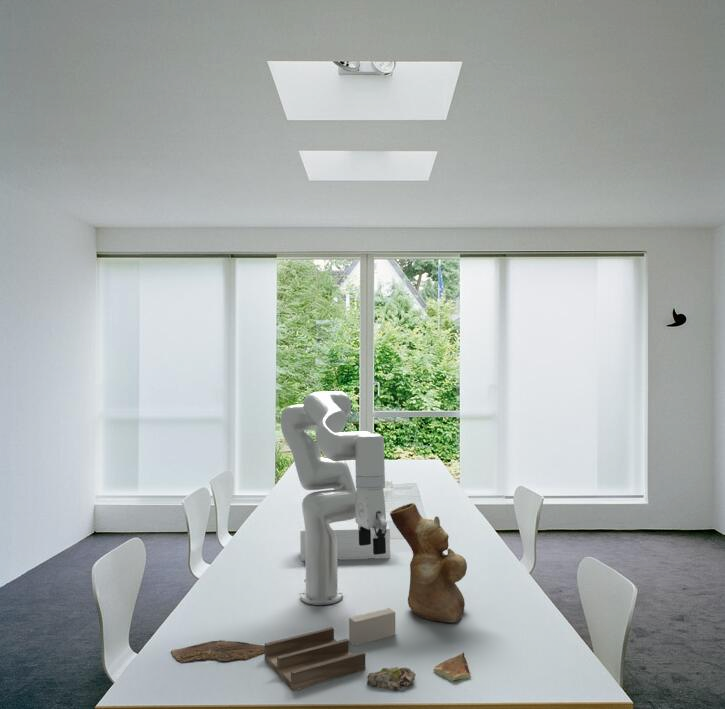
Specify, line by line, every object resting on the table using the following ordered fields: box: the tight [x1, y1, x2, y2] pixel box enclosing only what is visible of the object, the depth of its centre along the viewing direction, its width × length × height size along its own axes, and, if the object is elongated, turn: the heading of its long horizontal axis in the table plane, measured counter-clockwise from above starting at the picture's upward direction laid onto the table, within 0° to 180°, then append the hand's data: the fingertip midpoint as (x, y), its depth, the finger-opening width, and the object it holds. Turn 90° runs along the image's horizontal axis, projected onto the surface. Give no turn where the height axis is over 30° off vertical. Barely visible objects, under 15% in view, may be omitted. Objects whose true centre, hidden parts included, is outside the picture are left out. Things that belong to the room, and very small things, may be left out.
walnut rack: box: [264, 626, 366, 691], centre depth 146 cm, size 17×18×4 cm
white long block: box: [299, 521, 391, 562], centre depth 229 cm, size 32×11×11 cm, turn 94°
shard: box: [433, 652, 472, 682], centre depth 143 cm, size 11×8×2 cm
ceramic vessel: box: [389, 502, 468, 623], centre depth 177 cm, size 16×22×30 cm
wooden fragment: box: [170, 639, 265, 664], centre depth 153 cm, size 26×11×1 cm, turn 92°
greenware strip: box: [348, 607, 396, 647], centre depth 160 cm, size 3×12×6 cm, turn 120°
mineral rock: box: [366, 666, 416, 691], centre depth 138 cm, size 11×4×8 cm
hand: (372, 549), depth 161 cm, fingers open, 9 cm apart
